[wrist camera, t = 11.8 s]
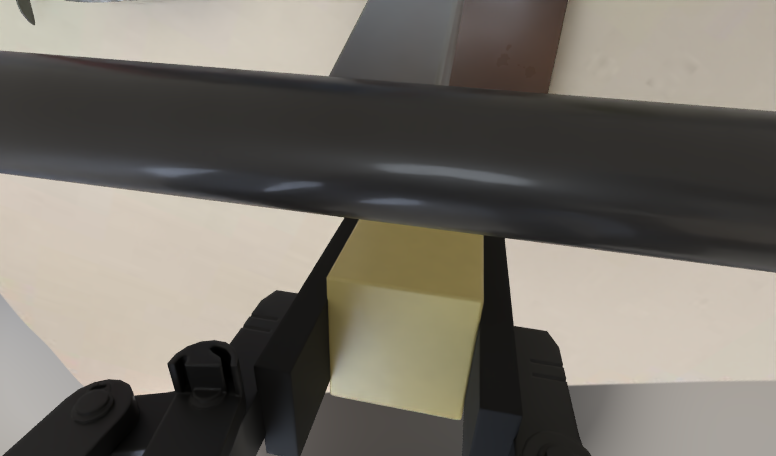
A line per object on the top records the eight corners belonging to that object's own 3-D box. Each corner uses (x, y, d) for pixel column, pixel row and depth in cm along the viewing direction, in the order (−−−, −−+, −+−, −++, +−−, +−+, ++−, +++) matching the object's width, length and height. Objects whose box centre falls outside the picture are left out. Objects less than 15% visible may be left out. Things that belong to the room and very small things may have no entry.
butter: (466, 312, 15) (461, 422, 11) (367, 297, 16) (329, 396, 12) (483, 211, 13) (484, 301, 9) (370, 197, 14) (325, 277, 10)
